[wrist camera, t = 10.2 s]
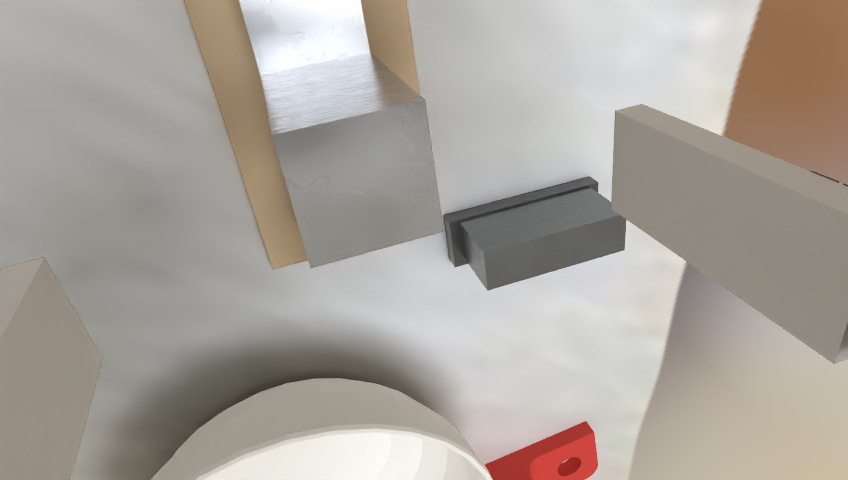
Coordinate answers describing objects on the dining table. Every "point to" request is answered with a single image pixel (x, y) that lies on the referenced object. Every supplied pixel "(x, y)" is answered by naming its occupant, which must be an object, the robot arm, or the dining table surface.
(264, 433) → the bowl
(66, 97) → the dining table surface
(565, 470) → the bracket
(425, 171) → the bent metal sheet
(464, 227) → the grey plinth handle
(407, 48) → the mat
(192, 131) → the dining table surface
